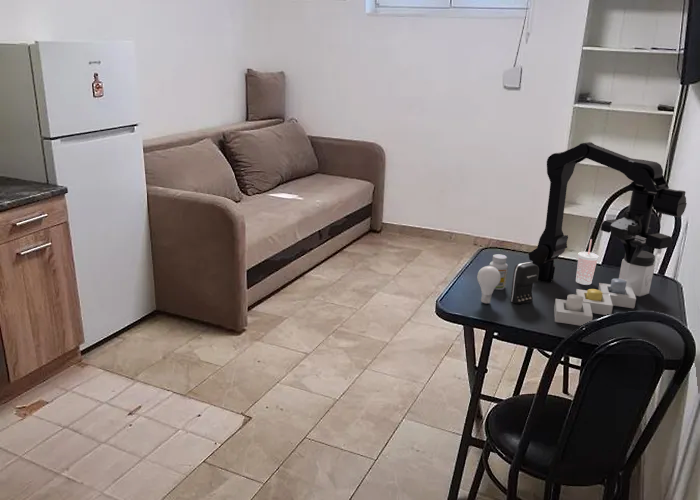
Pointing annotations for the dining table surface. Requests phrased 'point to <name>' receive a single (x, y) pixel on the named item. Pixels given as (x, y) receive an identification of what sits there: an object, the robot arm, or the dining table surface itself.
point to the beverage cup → (586, 266)
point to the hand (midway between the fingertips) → (629, 263)
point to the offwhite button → (574, 302)
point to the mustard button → (594, 294)
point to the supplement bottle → (500, 269)
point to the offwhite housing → (572, 313)
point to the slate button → (618, 286)
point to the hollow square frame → (597, 303)
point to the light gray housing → (619, 296)
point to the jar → (638, 272)
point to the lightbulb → (488, 282)
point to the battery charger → (523, 282)
